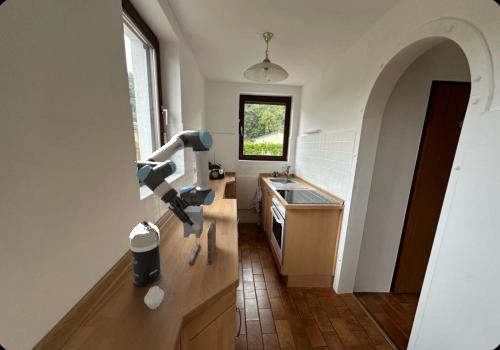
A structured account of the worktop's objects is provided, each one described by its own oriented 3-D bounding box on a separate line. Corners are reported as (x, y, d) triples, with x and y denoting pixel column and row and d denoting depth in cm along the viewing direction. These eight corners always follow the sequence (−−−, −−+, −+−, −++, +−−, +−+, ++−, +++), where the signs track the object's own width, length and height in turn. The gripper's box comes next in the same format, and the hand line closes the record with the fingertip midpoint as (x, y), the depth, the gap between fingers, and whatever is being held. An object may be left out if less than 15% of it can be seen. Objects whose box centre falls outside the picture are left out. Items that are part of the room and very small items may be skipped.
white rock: (143, 303, 64) (141, 286, 63) (162, 295, 68) (161, 278, 67) (146, 316, 59) (145, 298, 58) (166, 306, 63) (166, 288, 62)
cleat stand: (197, 245, 101) (196, 218, 99) (215, 245, 102) (215, 218, 99) (188, 264, 86) (187, 232, 83) (210, 264, 86) (210, 232, 83)
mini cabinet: (188, 229, 95) (188, 205, 93) (203, 230, 95) (203, 206, 93) (183, 237, 87) (183, 211, 85) (199, 237, 87) (199, 212, 85)
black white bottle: (141, 291, 69) (137, 230, 65) (128, 280, 74) (123, 222, 70) (166, 275, 78) (163, 220, 74) (152, 266, 83) (149, 214, 79)
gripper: (169, 192, 98) (200, 221, 101) (150, 205, 77) (189, 240, 81) (179, 183, 97) (209, 212, 101) (162, 193, 77) (201, 229, 80)
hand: (200, 225), depth 91 cm, fingers closed on mini cabinet, 8 cm apart
